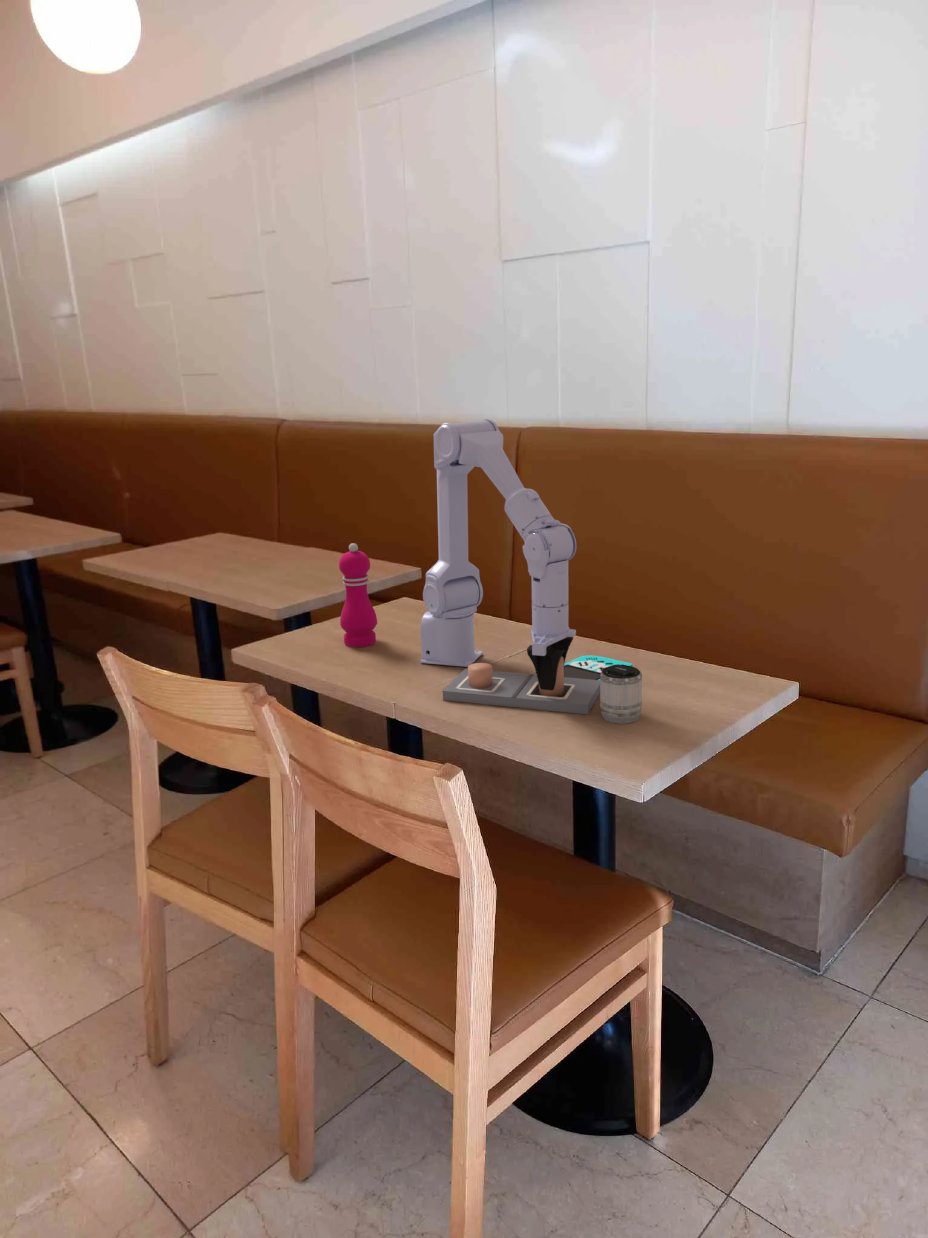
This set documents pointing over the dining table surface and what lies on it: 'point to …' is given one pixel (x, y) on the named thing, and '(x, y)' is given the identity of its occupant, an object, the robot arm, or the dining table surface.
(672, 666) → the dining table surface
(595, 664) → the handheld game console
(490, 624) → the dining table surface
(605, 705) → the camera lens
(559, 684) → the terracotta pin
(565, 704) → the board
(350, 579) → the pepper mill
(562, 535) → the robot arm
